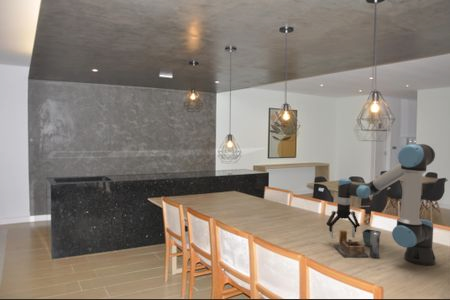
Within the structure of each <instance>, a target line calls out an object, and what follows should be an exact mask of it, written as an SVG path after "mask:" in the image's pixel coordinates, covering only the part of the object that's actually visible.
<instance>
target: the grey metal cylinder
mask: <svg viewBox="0 0 450 300" xmlns="http://www.w3.org/2000/svg"><path fill="white" fill-rule="evenodd" d="M376 231H377V230H375V231H371V232H370V246H369V257H370V258H371V259H379V258H380V242H381V240H380V239H381V234H380V232H376Z"/></svg>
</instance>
